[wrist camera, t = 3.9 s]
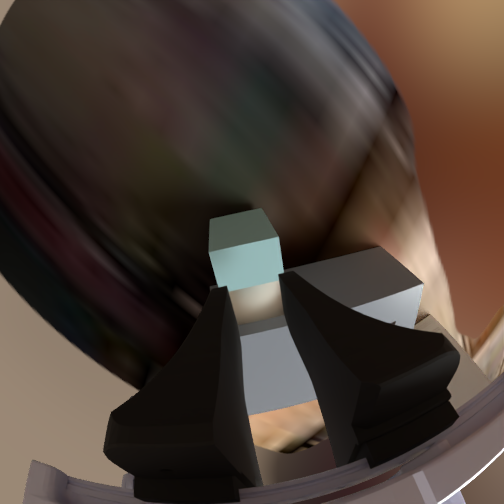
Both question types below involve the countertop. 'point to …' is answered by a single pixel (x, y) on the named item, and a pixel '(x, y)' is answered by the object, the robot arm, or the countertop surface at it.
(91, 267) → the countertop surface
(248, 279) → the cartridge
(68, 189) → the countertop surface
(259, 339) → the housing
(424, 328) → the supplement box
